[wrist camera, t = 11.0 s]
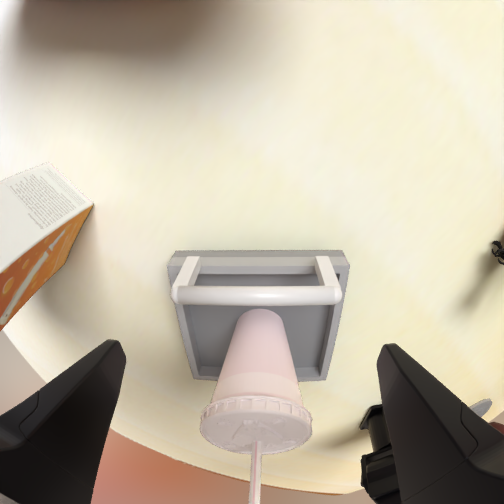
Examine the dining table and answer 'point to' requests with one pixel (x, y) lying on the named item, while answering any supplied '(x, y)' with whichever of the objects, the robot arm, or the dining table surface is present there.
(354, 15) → the dining table surface
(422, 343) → the dining table surface
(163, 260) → the dining table surface
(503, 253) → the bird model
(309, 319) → the grey tray
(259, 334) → the smoothie
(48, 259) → the small box
